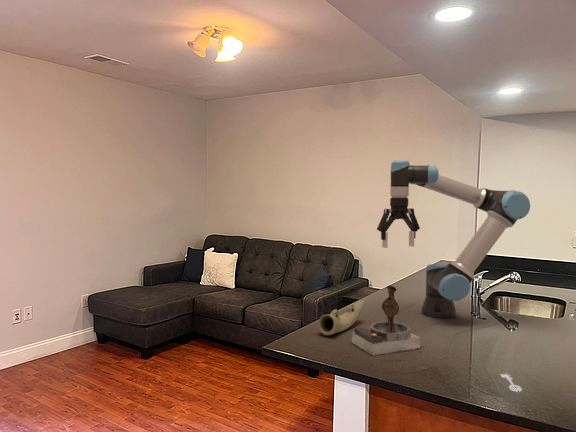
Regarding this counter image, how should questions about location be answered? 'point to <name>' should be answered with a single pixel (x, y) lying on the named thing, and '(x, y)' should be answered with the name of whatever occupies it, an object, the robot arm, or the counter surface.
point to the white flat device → (385, 338)
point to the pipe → (340, 319)
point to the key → (511, 383)
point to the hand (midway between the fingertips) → (398, 247)
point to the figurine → (390, 308)
